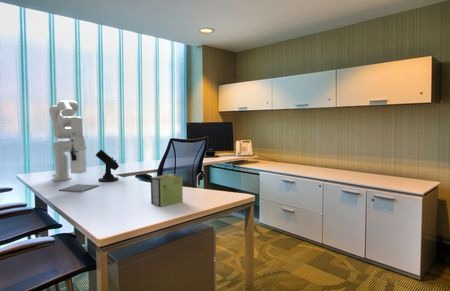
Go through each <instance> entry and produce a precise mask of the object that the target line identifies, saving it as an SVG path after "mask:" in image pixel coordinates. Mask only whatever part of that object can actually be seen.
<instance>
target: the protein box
mask: <svg viewBox="0 0 450 291" xmlns="http://www.w3.org/2000/svg"><path fill="white" fill-rule="evenodd" d="M150 196H151V197H150V200H151V205H154V206H157V207H160V208H162V207H166V206H170V205H174V204H178V203H183V200H184V199H183V198H184V197H183V175H180V174H174V173H169V174H163V175H158V176H151V177H150Z"/></svg>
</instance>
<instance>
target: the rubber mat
mask: <svg viewBox="0 0 450 291" xmlns="http://www.w3.org/2000/svg"><path fill="white" fill-rule="evenodd" d="M99 186H100V185H98V184H82V183H81V184H79V183H78V184H73V185H70V186H67V187H63V188H60V189H58V191H59V192H72V193H73V192H74V193H84V192H87V191H89V190H92V189H95V188H97V187H99Z"/></svg>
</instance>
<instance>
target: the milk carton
mask: <svg viewBox="0 0 450 291" xmlns="http://www.w3.org/2000/svg"><path fill="white" fill-rule="evenodd" d="M75 155H76V161H72V158H71V153H70V152H69V160H70V161H69V162H70V174H85V173H87V159H86V158H87V157H86V149H85V150H80V151H76V154H75Z"/></svg>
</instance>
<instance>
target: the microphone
mask: <svg viewBox="0 0 450 291" xmlns="http://www.w3.org/2000/svg"><path fill="white" fill-rule="evenodd" d="M95 157H96V158H97V159H99V160H100V161H101V162H102V163H104V164H105V170H104V173H103V175H102V177H100V178H98V180H97V181H98V182H99V183H112V182H117V181H119V177H117V176H114V174H112V170H114V171H116V170H117V169H119V167H120V165H119V164H118V162H117V159H114V157H111V155H108V153H106V151H104V150H103V149H100V150H98V151H97V152H96V153H95Z"/></svg>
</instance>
